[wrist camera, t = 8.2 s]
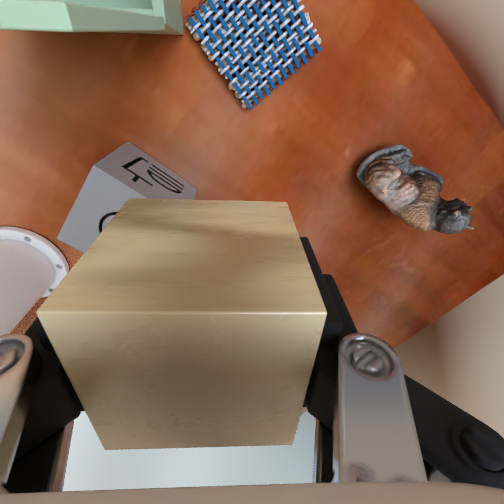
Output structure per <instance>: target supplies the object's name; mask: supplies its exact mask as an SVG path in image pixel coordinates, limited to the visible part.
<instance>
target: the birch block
mask: <svg viewBox="0 0 504 504" xmlns="http://www.w3.org/2000/svg"><path fill="white" fill-rule="evenodd" d="M36 314H37V316H38V318H39V320H40V322H41V324H42V326H43V328H44V330H45V332H46V334H47V336H48V338H49V340H50V342H51V344H52V346H53V348H54V350H55V352H56V354H57V356H58V358H59V360H60V362H61V364H62V366H63V368H64V370H65V372H66V374H67V376H68V378H69V380H70V382H71V384H72V386H73V388H74V390H75V392H76V394H77V396H78V398H79V400H80V402H81V404H82V406H83V408H84V410H85V412H86V414H87V415H88V417H89V419H90V422H91V423H92V425H93V427H94V429H95V431H96V433H97V435H98V437H99V439H100V441H101V443H102V445H103V447H104V449H105V450H114V449H115V450H118V449H153V448H154V449H155V448H191V447H228V446H265V445H292V444H293V441H294V438H295V434H296V430H297V426H298V422H299V418H300V415H301V411H302V407H303V403H304V400H305V396H306V392H307V388H308V384H309V381H310V377H311V373H312V369H313V365H314V362H315V358H316V354H317V350H318V346H319V343H320V339H321V335H322V331H323V327H324V324H325V320H326V316H327V311H326V308H325V305H324V303H323V300H322V297H321V294H320V292H319V289H318V286H317V284H316V281H315V278H314V275H313V273H312V270H311V267H310V264H309V262H308V259H307V256H306V254H305V251H304V248H303V245H302V243H301V240H300V237H299V235H298V232H297V229H296V226H295V224H294V221H293V218H292V215H291V213H290V210H289V207H288V205H287V202H263V201H226V200H188V199H151V198H129V199H128V200H127V202H126V203H125V204H124V205H123V206H122V208H121V209H120V210H119V211H118V213H117V214H116V215H115V216H114V217H113V219H112V220H111V221H110V222H109V224H108V225H107V226H106V227H105V228H104V230H103V231H102V232H101V233H100V234H99V236H98V237H97V238H96V239H95V241H94V242H93V243H92V244H91V245H90V247H89V248H88V249H87V250H86V251H85V253H84V254H83V255H82V256H81V258H80V259H79V260H78V261H77V262H76V264H75V265H74V266H73V267H72V269H71V270H70V271H69V272H68V273H67V275H66V276H65V277H64V278H63V279H62V281H61V282H60V283H59V284H58V286H57V287H56V288H55V289H54V290H53V292H52V293H51V294H50V295H49V297H48V298H47V299H46V300H45V301H44V303H43V304H42V305H41V306H40V307H39V309H38V310H37V312H36Z"/></svg>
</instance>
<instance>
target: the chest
mask: <svg viewBox="0 0 504 504" xmlns="http://www.w3.org/2000/svg"><path fill="white" fill-rule="evenodd" d="M48 1H65V2H72V3H78V4H84V5H91V6H97V7H103V8H110V9H116V10H122V11H129V12H135V13H141V14H148V15H154V16H160V17H163V18H164V24H165V30H156V31H109V32H116V33H143V34H170V35H184V28H183V16H182V4H181V0H48Z"/></svg>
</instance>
